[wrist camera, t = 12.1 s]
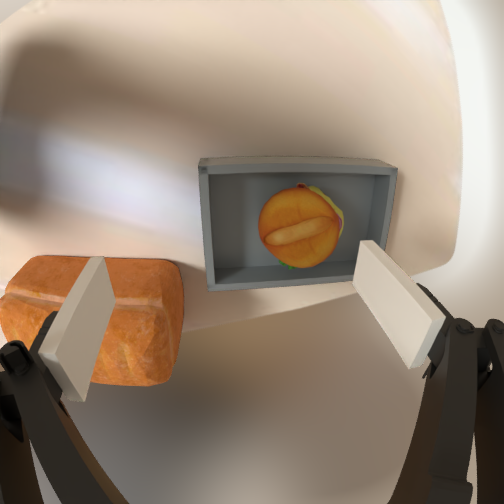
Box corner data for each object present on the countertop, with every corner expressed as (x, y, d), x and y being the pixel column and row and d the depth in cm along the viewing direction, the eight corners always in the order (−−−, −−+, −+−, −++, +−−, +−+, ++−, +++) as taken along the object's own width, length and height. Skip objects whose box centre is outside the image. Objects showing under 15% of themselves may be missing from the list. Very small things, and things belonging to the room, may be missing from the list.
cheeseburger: (307, 267, 43) (313, 301, 33) (246, 224, 41) (234, 249, 32) (351, 212, 39) (371, 233, 30) (289, 165, 38) (290, 171, 29)
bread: (186, 329, 47) (180, 409, 33) (48, 318, 44) (14, 381, 30) (182, 254, 41) (168, 331, 27) (28, 250, 37) (-25, 308, 24)
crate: (208, 271, 42) (207, 291, 38) (200, 158, 35) (198, 166, 31) (364, 261, 45) (378, 278, 40) (379, 160, 37) (397, 167, 33)
